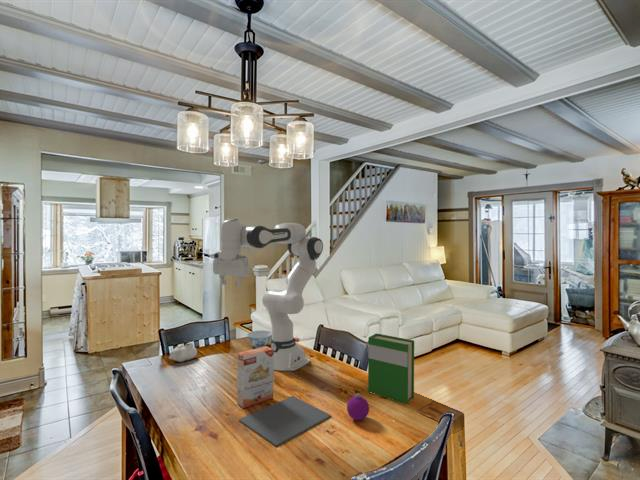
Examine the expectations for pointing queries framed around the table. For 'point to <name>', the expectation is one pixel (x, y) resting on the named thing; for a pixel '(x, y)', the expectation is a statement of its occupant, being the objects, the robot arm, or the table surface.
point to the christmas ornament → (357, 407)
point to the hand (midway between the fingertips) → (230, 285)
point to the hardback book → (391, 367)
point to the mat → (284, 420)
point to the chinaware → (259, 338)
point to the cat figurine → (183, 352)
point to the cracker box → (255, 376)
